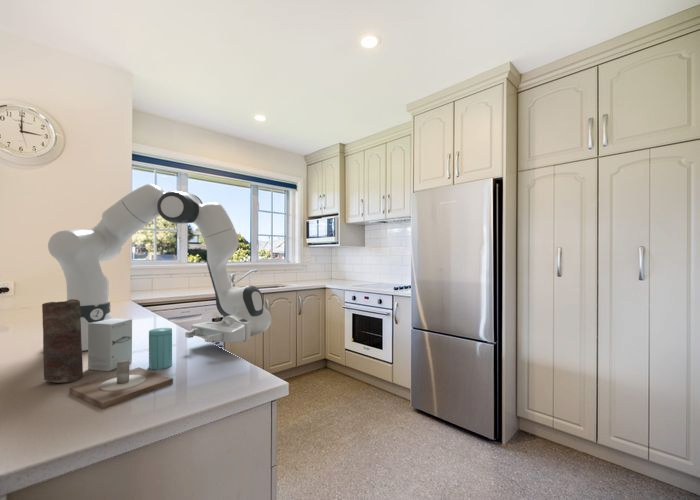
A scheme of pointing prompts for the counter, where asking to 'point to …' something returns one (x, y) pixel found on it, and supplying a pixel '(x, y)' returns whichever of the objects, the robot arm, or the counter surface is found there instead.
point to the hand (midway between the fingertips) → (196, 337)
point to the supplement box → (109, 343)
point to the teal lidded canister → (160, 348)
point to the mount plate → (120, 385)
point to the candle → (62, 341)
